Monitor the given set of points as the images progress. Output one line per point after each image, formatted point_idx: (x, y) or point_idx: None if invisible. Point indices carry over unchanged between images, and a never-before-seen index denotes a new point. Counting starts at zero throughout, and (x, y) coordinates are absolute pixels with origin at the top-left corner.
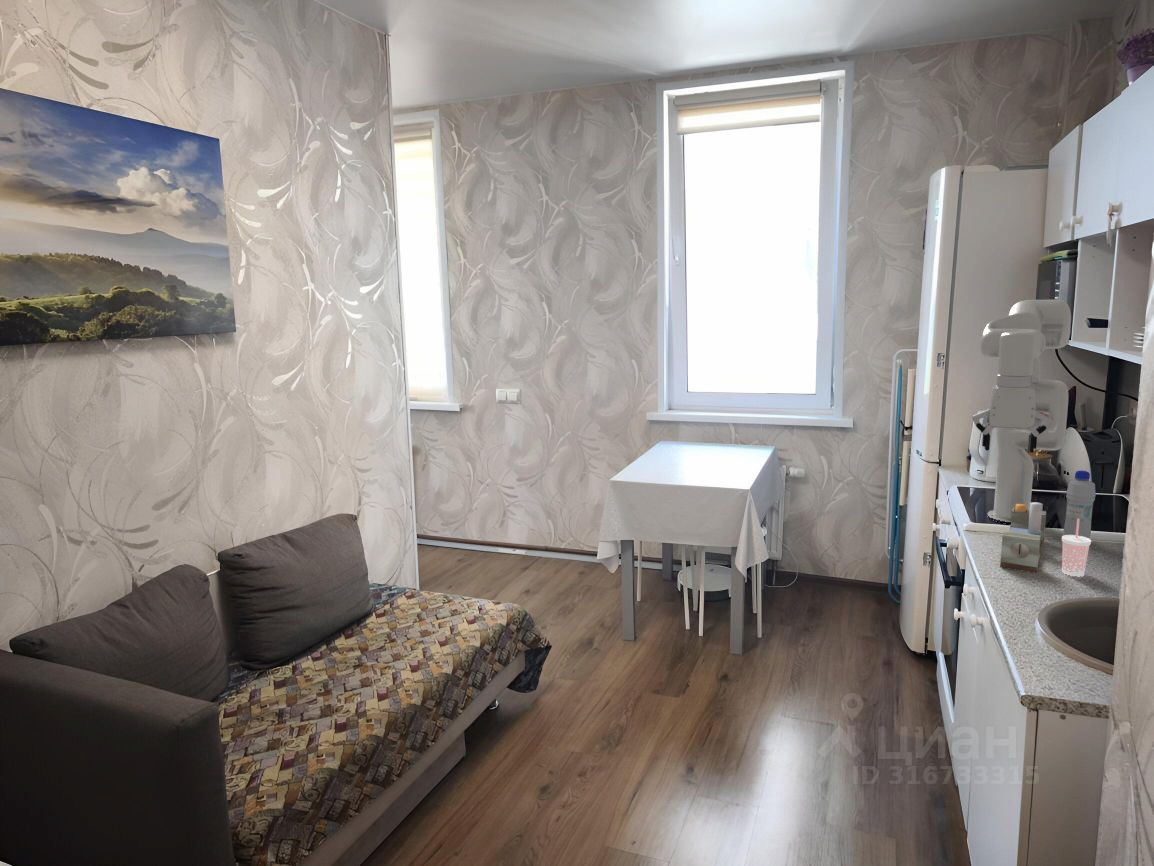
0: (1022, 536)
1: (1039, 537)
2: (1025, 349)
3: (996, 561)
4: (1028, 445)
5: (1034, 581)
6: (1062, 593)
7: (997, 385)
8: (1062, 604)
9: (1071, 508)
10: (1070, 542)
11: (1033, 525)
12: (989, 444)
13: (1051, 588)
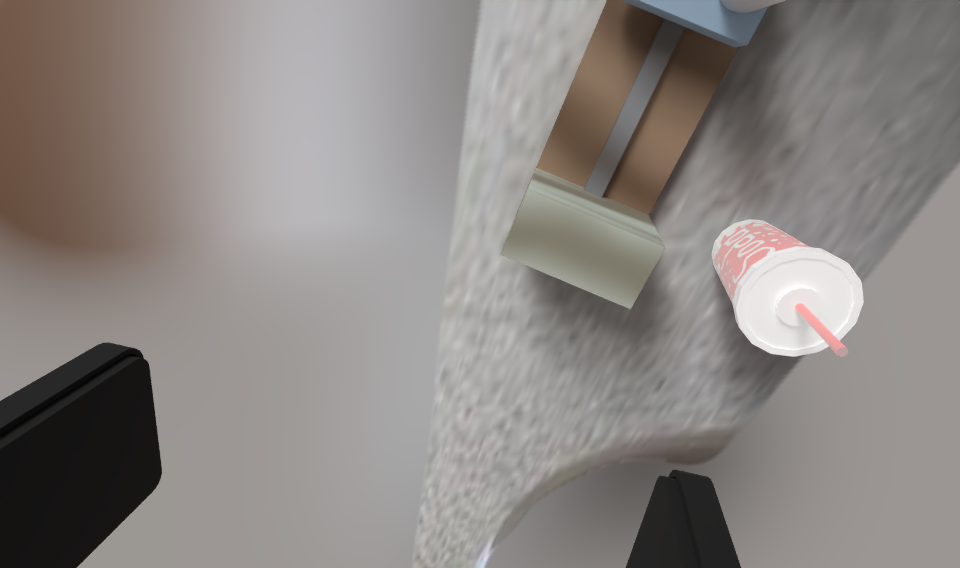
0: (578, 266)
1: (647, 272)
2: None
3: (523, 153)
4: (662, 555)
5: (580, 330)
6: (621, 411)
7: None
8: (585, 474)
9: None
10: (747, 336)
11: (742, 4)
12: (99, 543)
13: (607, 379)
